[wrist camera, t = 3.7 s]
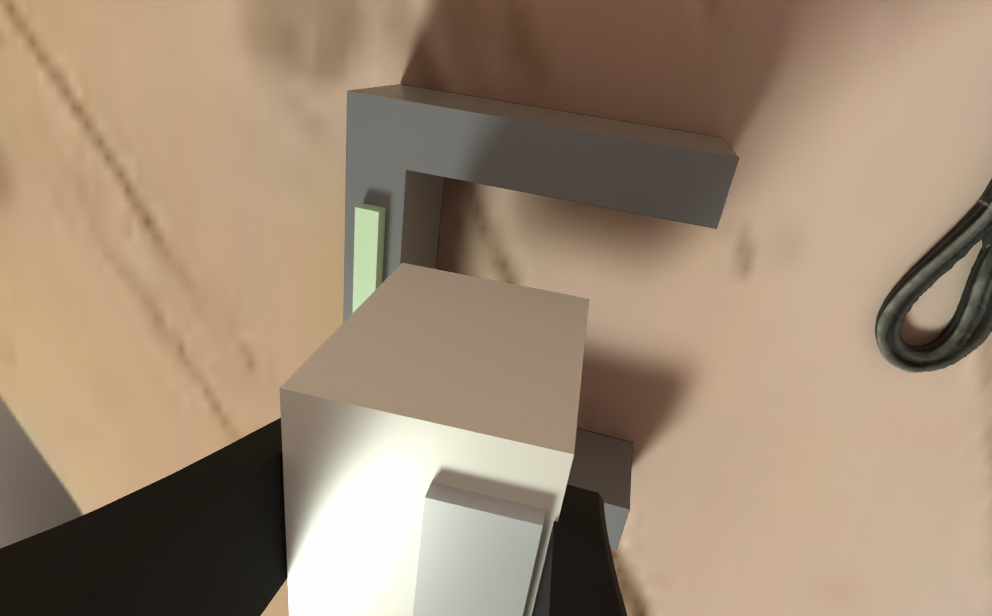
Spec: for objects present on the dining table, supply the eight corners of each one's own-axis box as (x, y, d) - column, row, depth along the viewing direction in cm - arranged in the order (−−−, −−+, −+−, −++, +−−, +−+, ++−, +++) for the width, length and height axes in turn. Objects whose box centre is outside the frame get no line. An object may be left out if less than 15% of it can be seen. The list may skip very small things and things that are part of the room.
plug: (588, 299, 12) (572, 470, 7) (547, 484, 14) (514, 710, 9) (401, 262, 12) (267, 400, 7) (390, 447, 14) (280, 645, 10)
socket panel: (722, 137, 14) (741, 160, 11) (568, 660, 23) (556, 751, 20) (398, 83, 15) (338, 91, 12) (371, 596, 24) (332, 673, 21)
